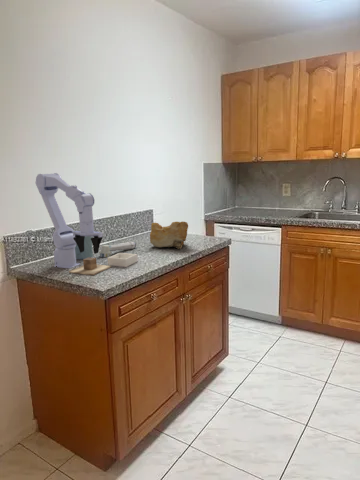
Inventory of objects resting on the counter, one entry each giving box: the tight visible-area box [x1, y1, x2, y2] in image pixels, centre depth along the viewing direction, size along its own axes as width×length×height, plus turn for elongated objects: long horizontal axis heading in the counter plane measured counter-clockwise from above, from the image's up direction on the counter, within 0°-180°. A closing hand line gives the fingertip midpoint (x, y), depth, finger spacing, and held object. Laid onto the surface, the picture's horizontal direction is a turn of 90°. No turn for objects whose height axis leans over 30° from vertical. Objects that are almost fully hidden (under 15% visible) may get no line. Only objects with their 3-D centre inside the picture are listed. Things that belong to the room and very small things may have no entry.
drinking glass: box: [75, 236, 94, 260], centre depth 184 cm, size 10×10×12 cm
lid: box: [68, 257, 112, 276], centre depth 162 cm, size 13×13×5 cm
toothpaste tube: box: [98, 241, 137, 258], centre depth 194 cm, size 5×7×25 cm
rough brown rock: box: [149, 221, 189, 250], centre depth 204 cm, size 23×17×15 cm
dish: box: [107, 252, 139, 268], centre depth 171 cm, size 10×10×4 cm
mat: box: [72, 266, 113, 277], centre depth 162 cm, size 14×14×1 cm
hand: (89, 252), depth 160 cm, fingers open, 7 cm apart
